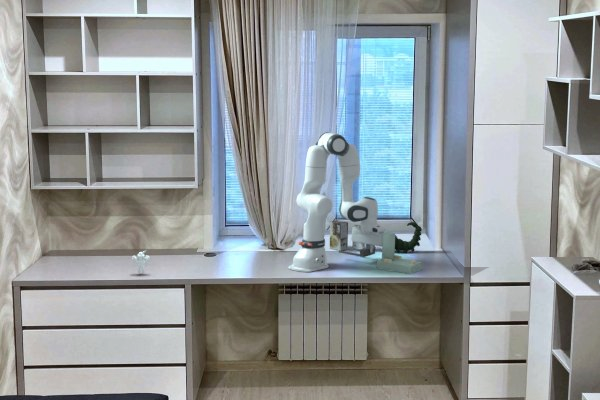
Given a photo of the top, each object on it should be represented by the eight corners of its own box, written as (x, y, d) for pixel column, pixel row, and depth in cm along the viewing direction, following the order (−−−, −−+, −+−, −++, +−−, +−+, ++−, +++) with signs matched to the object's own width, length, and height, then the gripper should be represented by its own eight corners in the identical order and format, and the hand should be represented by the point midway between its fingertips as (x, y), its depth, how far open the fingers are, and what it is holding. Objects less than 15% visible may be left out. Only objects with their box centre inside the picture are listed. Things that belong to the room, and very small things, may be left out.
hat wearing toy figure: (150, 272, 393) (150, 249, 391) (149, 274, 389) (148, 251, 387) (132, 272, 392) (132, 249, 390) (131, 274, 389) (130, 251, 387)
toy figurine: (417, 253, 445) (374, 248, 446) (421, 221, 442) (378, 216, 443) (419, 257, 436) (375, 252, 437) (423, 224, 433) (378, 219, 434)
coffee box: (348, 249, 446) (348, 222, 444) (340, 251, 442) (340, 223, 439) (336, 246, 453) (337, 219, 450) (329, 248, 449) (329, 221, 446)
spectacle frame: (363, 257, 412) (363, 250, 411) (338, 252, 422) (338, 245, 421) (375, 253, 422) (375, 246, 421) (350, 249, 431) (350, 242, 431)
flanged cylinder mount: (410, 274, 393) (411, 239, 390) (376, 268, 404) (377, 234, 401) (421, 269, 403) (422, 235, 400) (387, 263, 414) (388, 230, 411)
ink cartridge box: (371, 250, 445) (372, 225, 442) (366, 252, 440) (366, 227, 438) (357, 247, 451) (357, 223, 448) (351, 249, 446) (352, 225, 444)
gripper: (349, 225, 419) (348, 249, 421) (381, 230, 407) (380, 255, 409) (355, 223, 424) (354, 248, 426) (387, 228, 412) (386, 254, 414)
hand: (367, 252), depth 417 cm, fingers closed on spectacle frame, 2 cm apart
